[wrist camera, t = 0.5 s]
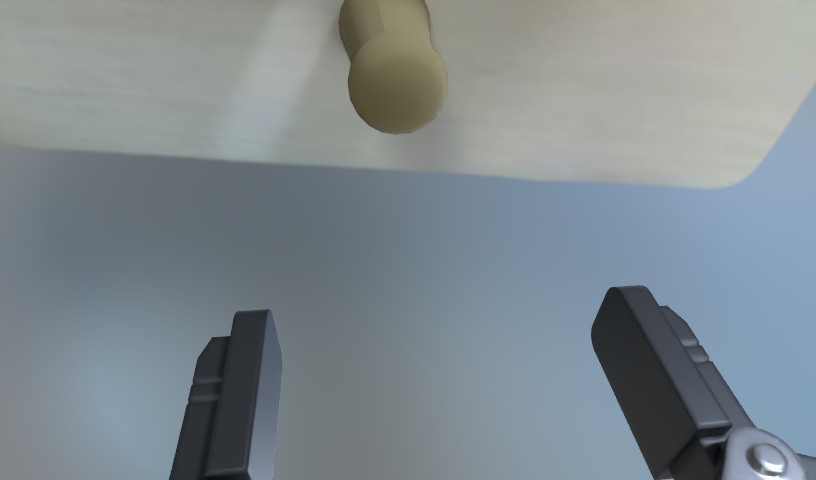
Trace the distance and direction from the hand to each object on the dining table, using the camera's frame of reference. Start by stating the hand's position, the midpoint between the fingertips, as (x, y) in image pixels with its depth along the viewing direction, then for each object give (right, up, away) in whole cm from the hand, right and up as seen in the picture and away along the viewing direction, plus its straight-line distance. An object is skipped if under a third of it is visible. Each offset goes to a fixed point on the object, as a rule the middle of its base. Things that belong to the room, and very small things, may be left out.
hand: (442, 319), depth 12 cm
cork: (-2, +16, +21) cm, 27 cm away
